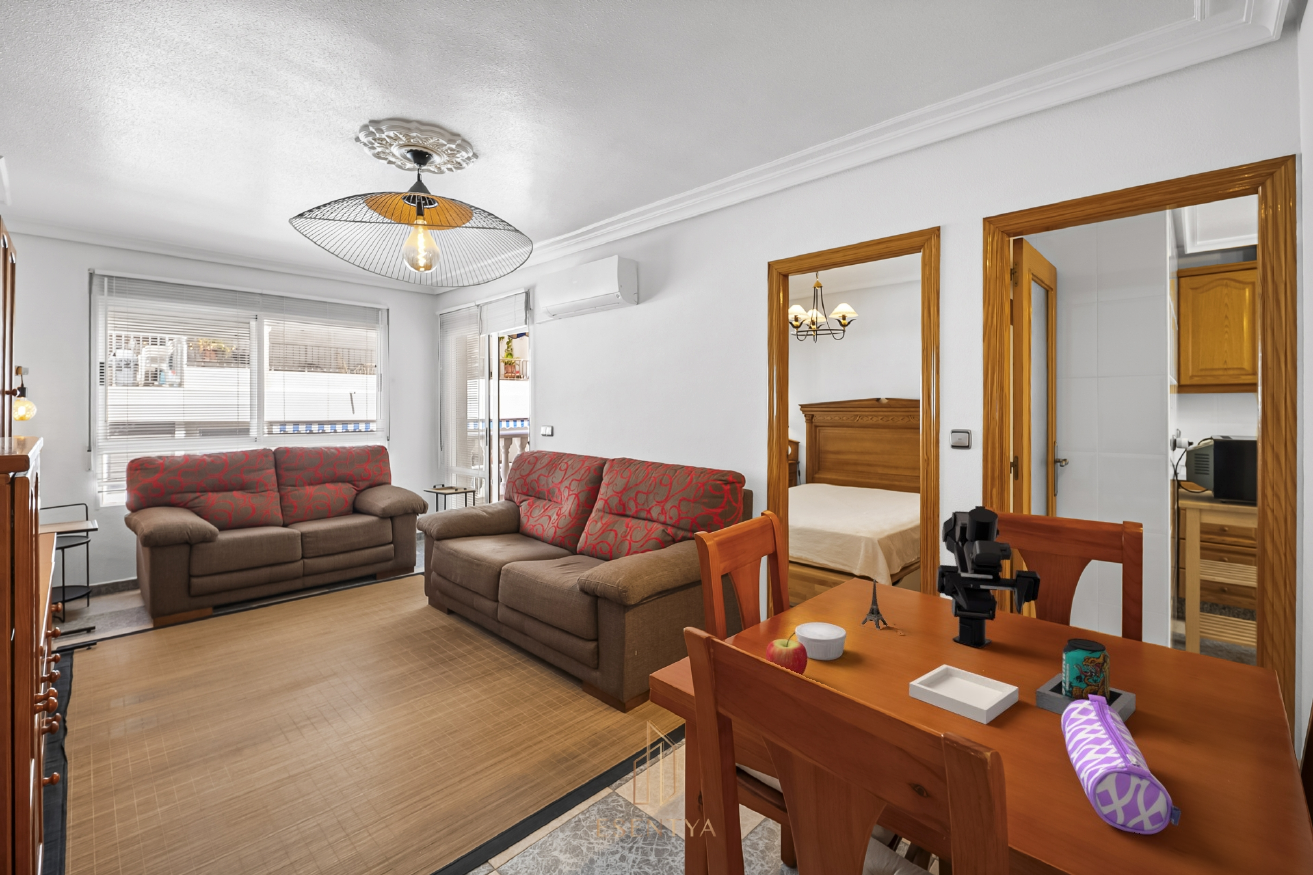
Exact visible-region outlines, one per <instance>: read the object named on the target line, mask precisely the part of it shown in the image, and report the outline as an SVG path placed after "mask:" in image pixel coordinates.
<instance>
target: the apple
mask: <svg viewBox="0 0 1313 875" xmlns="http://www.w3.org/2000/svg"><path fill="white" fill-rule="evenodd" d="M794 635H796V633H795V631H794V632H793V633H792V634H791V635H790V636H789V637H788V639H787V638H779V639H775V640H772V641H770V643H768V645H767V647H766V653H765V654H766V655H765V657H766V658H765V660H766V661H767V660H768V661H770V662H774V663H775V664H777V665H780V666H781V667H785V668H786V669H790V670H791V671H794V672H796V673H799V674H801V675H802V676H803V675H804V674H805V671H806V669H807V666H808V657H807V651H806V648H805V646H804V645H803V644H802V643H800V642H798V640H794V639H791V638H792V637H793V636H794Z"/></svg>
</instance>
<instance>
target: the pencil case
mask: <svg viewBox="0 0 1313 875" xmlns="http://www.w3.org/2000/svg"><path fill="white" fill-rule="evenodd" d="M1088 697H1089V700H1077V701H1074V702H1072V703H1071V704H1069V705H1068V707H1067V708H1066V709H1065V711H1064V713H1063V715H1061V719H1060V720H1061V721H1060V725H1061V730H1062V734H1063V737H1064V740H1065V746H1066V752H1067V753H1068V756H1069V757H1068V758H1069V760H1070V762H1071V765H1072V767H1073V769H1074V771H1075V773H1076V776H1077V777H1078V781H1080V784H1081V787H1082V788H1083V791H1084V792H1085V795H1086V797H1087V799H1088V800H1089V802H1090V804H1091V805H1092V808H1094V810H1095V813H1097V815H1098V816H1099V817H1100V818H1101V819H1102V820H1103V821H1104V823H1105V822H1106V823H1107V824H1108V825H1110V826H1112V827H1114V828H1117V829H1118V830H1122V831H1124V832H1129V833H1134V832H1135V834H1139V833H1140V834H1139V835H1152V834H1153V835H1154V834H1157V833H1159V832H1161V831H1162V830H1164V829H1165V828H1166V827H1167V826H1168V825H1169V823H1171V824H1173V825H1174V826H1178V825H1179V821H1180V818H1181V814H1182V813H1181V812H1182V811H1181V809H1180V808H1179V807H1177V806H1174V805H1173V800H1172V798H1171V796H1170V794H1169V793H1168V791H1167V789H1166V788H1165V786H1164V785H1163V784H1162V783H1161V782H1160V781H1159V780H1158V779H1157V778H1156V776H1154V775H1153V774H1152V773H1151V771H1150V769H1149V766H1148V765H1147V761H1146V759H1145V758H1144V756H1143V753H1142V752H1141V751H1140V749H1139V747H1138V746H1137V743H1136V742H1135V740H1134V738H1133V737H1132V734H1131V732H1130V730H1129V729H1128V728H1127V726H1126V724H1125V722H1124V723H1123V721H1122V719H1121V718H1120V716H1119V715H1118V713H1117V712H1116V711H1115V710H1113V709H1112V708H1111V707H1110V706H1108V705H1107V702H1106V699H1105V697H1102V696H1097V695H1089V694H1088Z"/></svg>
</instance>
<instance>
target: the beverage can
mask: <svg viewBox="0 0 1313 875" xmlns="http://www.w3.org/2000/svg"><path fill="white" fill-rule="evenodd" d="M1066 642H1067V644H1066V645H1065V646H1064V647H1063V649H1062V674H1063V677H1062V695H1064V696H1067V697H1070V698H1073V699H1077V700H1089V697H1088V694H1089V695H1097V696H1102V697H1105V699H1106V702H1107V705H1108V706H1109V687H1110V684H1111V683H1110V682H1111V681H1110V679H1111V678H1110V676H1111V675H1110V673H1111V657H1110V655H1109V653H1108V652H1107V651H1106V645H1104V644H1103V643H1100V642H1099V641H1094V640H1091V639H1085V638H1078V637H1075V638H1074V637H1073V638H1068V640H1067V641H1066Z"/></svg>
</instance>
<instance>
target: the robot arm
mask: <svg viewBox="0 0 1313 875" xmlns="http://www.w3.org/2000/svg"><path fill="white" fill-rule="evenodd" d="M998 517H999V515H998V513H997V512H994V510H991V509H987V508H986V505H985V506H983V505H975V508H972V509H971V510H969V511H963V510H962V511H961V510H959V511H957V510H955V511H953V512H951V517H949V518H948V519H946V520H945V521H944V522H943V523H942V529H941V530H942V531H941V538H942V540H941V542H942V543H944V545H945V548H946V550H947V551H948V552H950V553H952V555H953V556H954V560H955V565H949V564H948V565H947V564H946V565H945V564H939V566H937V569H936V570H937V571H936V591H937V592H938V593H939V594H942V595H945V596H947V597H950V598H951V613H952V615H953V617H954V618H958V635H956V636H954V637H952V641H953V642H956V643H960V644H963V645H967V646H970V647H974V648H978V649H981V648H984V647H985V646H988V645H989V644H991V643H992V642H993V640H992V639H990V638H987V637H986V633H987V632H986V631H987V630H986V626H987V620H988V621H991V622H992V621H995V619H996V610H997V607H998V606H997V605H998V601H997V599H996V598H995V595H994V594H993V593H992V591H998V590H1001V591H1012V592H1013V595H1014V606H1015V610H1016V612H1017V614H1018V615H1021V614H1022V611H1023V610H1022V609H1023V607H1024V606H1025V604H1026V603H1031V602H1034V601H1036V600H1038V598H1039V592H1040V586H1041V576H1040V574H1039V573H1038V572H1037V571H1036V570H1019V569H1016V570H1015V572H1014V578H1007V577H1006V578H1005V577H1004V578H1003V577H1001V573H1003V565H1002V561H1010V560H1011V557H1012V547H1011V545H1010V542H999V541H996V539H997V538H998V537H999V536H1000V529H999V528H998V520H999V518H998Z"/></svg>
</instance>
